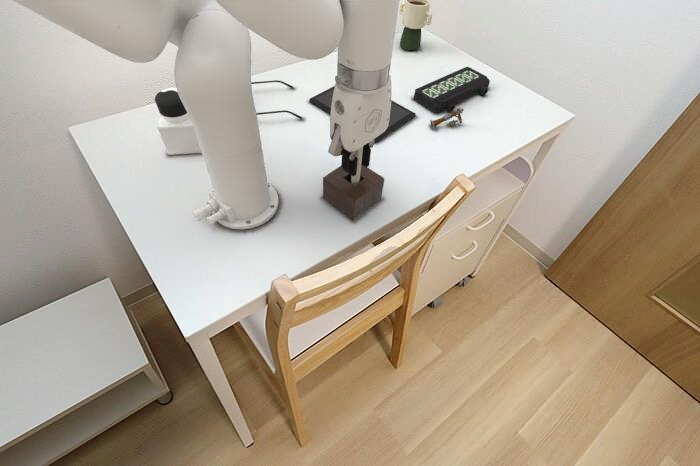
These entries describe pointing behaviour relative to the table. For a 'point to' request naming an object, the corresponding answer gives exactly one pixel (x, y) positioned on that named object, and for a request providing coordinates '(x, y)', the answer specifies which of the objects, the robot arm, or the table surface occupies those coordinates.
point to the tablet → (396, 120)
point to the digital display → (451, 90)
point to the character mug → (414, 22)
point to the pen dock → (352, 191)
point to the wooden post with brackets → (447, 117)
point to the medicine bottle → (175, 124)
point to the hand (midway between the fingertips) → (355, 166)
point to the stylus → (356, 178)
